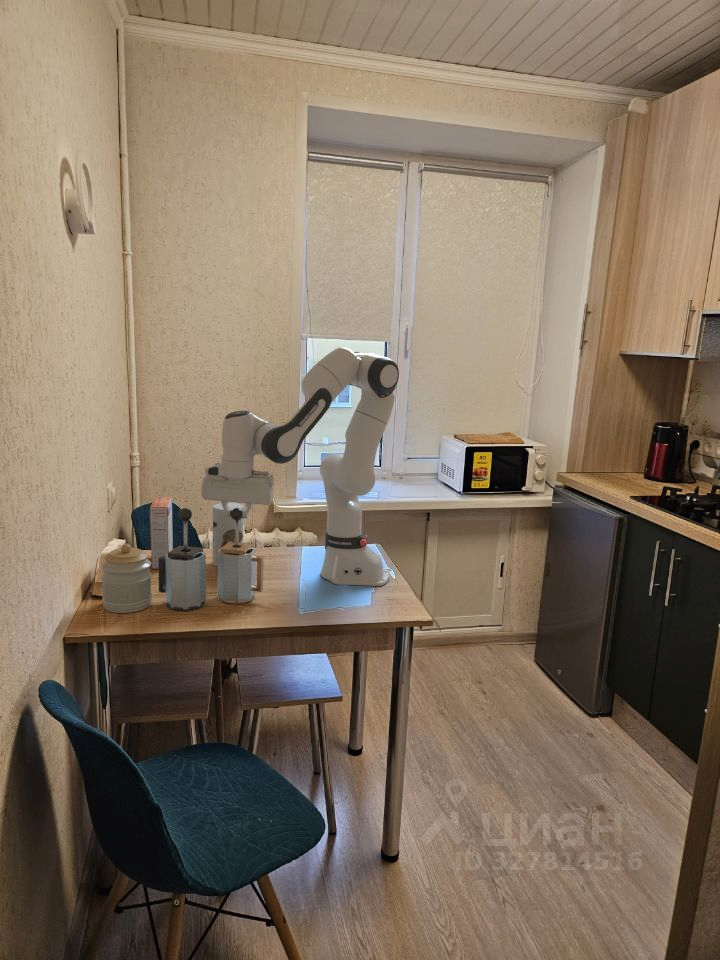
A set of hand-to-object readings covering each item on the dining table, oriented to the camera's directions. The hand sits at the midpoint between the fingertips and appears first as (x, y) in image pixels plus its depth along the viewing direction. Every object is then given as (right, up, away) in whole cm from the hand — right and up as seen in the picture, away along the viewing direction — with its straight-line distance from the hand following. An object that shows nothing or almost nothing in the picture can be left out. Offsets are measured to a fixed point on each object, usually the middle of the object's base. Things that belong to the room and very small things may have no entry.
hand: (237, 517), depth 188 cm
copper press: (0, -24, +5) cm, 24 cm away
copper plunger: (-1, -14, +3) cm, 14 cm away
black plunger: (-14, -14, -3) cm, 20 cm away
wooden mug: (-6, -21, +20) cm, 30 cm away
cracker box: (-31, -17, +32) cm, 48 cm away
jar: (-30, -24, -4) cm, 39 cm away
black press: (-15, -24, -1) cm, 29 cm away
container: (-9, -18, +34) cm, 39 cm away
